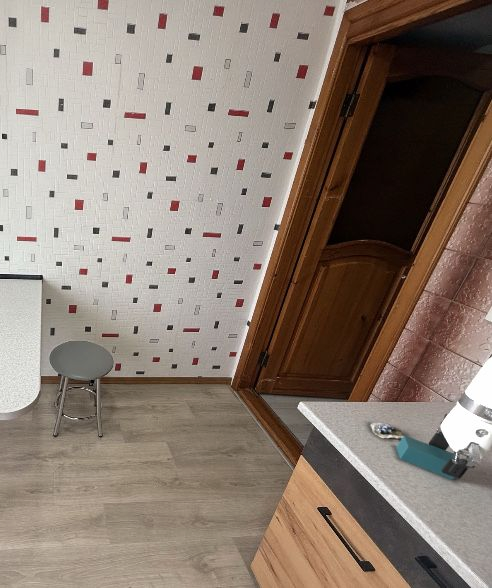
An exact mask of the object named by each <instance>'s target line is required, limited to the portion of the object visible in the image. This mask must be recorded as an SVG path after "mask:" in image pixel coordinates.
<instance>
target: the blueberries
mask: <svg viewBox="0 0 492 588" xmlns="http://www.w3.org/2000/svg"><path fill="white" fill-rule="evenodd" d="M370 428H371V429H372V431H371V432H373V434H374V435H375V436H378V437H379V438H382V439H385V438H386V439H389V438H392V439H397V440H398V439H400V440H401V439H402V438H403V436H404V435H403V433H402V431H401V430H400V429H398V428H396V427H394V426H392V425H391V424H390V423H388V422H380V421H379V422H373V423H370Z"/></svg>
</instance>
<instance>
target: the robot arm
mask: <svg viewBox="0 0 492 588" xmlns="http://www.w3.org/2000/svg"><path fill="white" fill-rule="evenodd" d="M439 424H440V425H439V427H437V429H436V432H435V434H434V435H433V436H432V438H431V439H430V440H429V441H428V444H429V445H432V446H435V447H437V448H440V449H443V450H446V451H447V449H448V448H451V450H453V452H452V453H453V459H452V460H451V459H449V460H448V461H447V463H446V464H445V465H444V467H443V468H442V469H441V471H442V472H443V473H445V474H447V475H450V476H452V477H455V478H454V479H457V480H460V479H461V478H462V477H463V476H464V475H465V473H466V472H468V470H471V469H473V468H475V467H477V466H479V465H480V464H481V463H482V460H483V459H484V458H485V457H486V455H487V454H488V453H489V451H490V450H491V449H492V357H489V358H488V359H487V360H486V361H485V363H484V364H483V366H482V367H481V368H480V370H479V371H478V373H477V374H476V375H475V377H474V378H473V379H472V381H471V382H470V384H469V385H468V386H467V388H466V389H465V390H464V392H463V393H462V394H461V396H460V397H459V399H458V400H457V401H456V405H455V406H454V407H453V408H452V409H451V411H450V412H449V413H445V414H444V416H443V419H442V421H441V422H440V423H439ZM463 450H464V451H463ZM461 455H462V456H465V457H466V458H460V457H461Z"/></svg>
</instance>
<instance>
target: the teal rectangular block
mask: <svg viewBox="0 0 492 588" xmlns="http://www.w3.org/2000/svg"><path fill="white" fill-rule="evenodd" d="M402 436H403V438H402V439H400V441H399V442H398V444H397V446H396V447H395V448H396V451H397V454H398V458H399V460H401V461H404V462H406V463H409V464H412V465H414V466H417V467H418V468H421V469H424V470H427V471H428V472H429V471H430V472H431V473H435V474H437V475H440V476H442V477H444V478H448V479H449V480H452V481H453V480H455V479H456V478H455V477H452V476H450V475H447V474H445V473H443V472H442V471H441V469H442V468H443V467H444V465H445V464H446V463H447V461H448V460H449V459H451V460H452V459H453V453H454V452H451V451H448V450H447V449H446V450H443V449H440V448H437V447H435V446H432V445H429V443H427V442H423V441H422V440H418V439H415V438H413V437H410V436H407V435H404V434H403V435H402Z"/></svg>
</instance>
